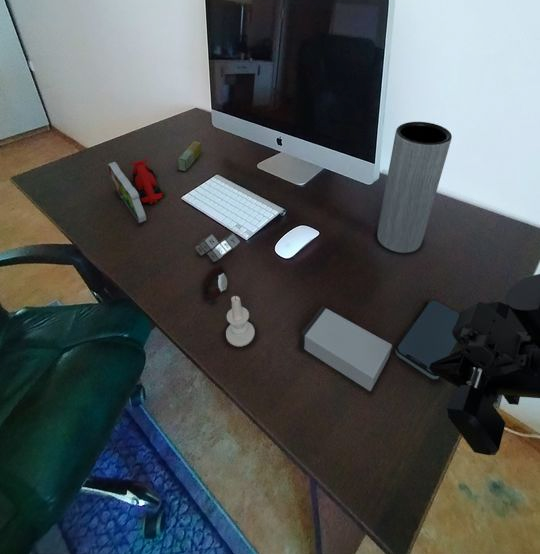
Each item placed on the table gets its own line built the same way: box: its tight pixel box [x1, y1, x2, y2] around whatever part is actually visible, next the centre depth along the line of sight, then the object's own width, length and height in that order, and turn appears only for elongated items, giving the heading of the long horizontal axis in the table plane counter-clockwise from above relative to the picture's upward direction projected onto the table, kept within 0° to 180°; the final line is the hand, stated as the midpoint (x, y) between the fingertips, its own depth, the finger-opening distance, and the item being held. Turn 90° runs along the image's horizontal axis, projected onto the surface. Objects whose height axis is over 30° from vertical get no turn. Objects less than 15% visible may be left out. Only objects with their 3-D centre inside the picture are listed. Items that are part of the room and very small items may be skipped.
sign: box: [107, 161, 147, 224], centre depth 98 cm, size 22×2×10 cm, turn 36°
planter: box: [376, 121, 453, 254], centre depth 78 cm, size 10×10×27 cm
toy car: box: [129, 158, 163, 205], centre depth 105 cm, size 6×18×5 cm, turn 26°
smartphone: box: [394, 299, 460, 380], centre depth 64 cm, size 8×2×15 cm
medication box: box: [177, 141, 202, 172], centre depth 117 cm, size 12×3×4 cm, turn 165°
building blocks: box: [193, 232, 241, 263], centre depth 82 cm, size 5×5×8 cm
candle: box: [225, 295, 256, 347], centre depth 64 cm, size 5×5×10 cm
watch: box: [202, 266, 228, 301], centre depth 75 cm, size 8×5×4 cm, turn 172°
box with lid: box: [300, 305, 393, 392], centre depth 62 cm, size 4×7×13 cm
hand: (431, 368), depth 52 cm, fingers closed
